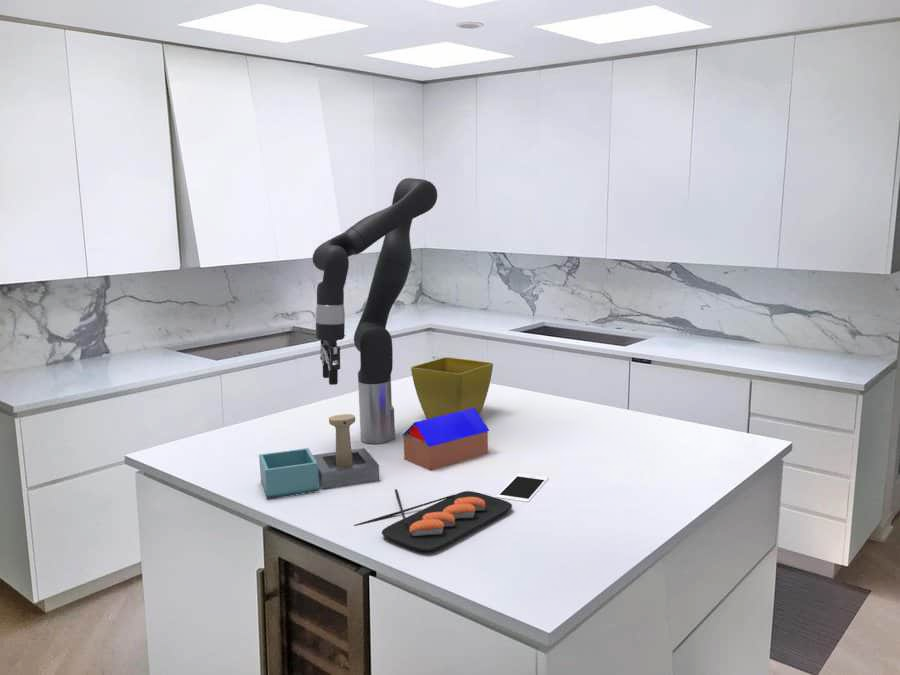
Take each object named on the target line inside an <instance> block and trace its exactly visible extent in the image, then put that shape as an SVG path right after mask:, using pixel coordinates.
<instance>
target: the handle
mask: <svg viewBox="0 0 900 675" xmlns="http://www.w3.org/2000/svg"><path fill="white" fill-rule="evenodd" d="M328 423H329V425H331V426H333V427H334V428H335V452H336V463H337V468H338V467H345V466H351V465H352V450H353V449H352V442H351V431H350V428H351V425H352V424H354V423H356V415H354V414H351V413H350V414H348V413H347V414H343V413H342V414H337V415H332V416H329V417H328Z"/></svg>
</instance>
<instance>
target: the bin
mask: <svg viewBox="0 0 900 675" xmlns="http://www.w3.org/2000/svg"><path fill="white" fill-rule="evenodd" d="M313 455H314V454H313V453H312V452H311V450H310V448H309V447H306V448H300V449H299V448H298V449H290V450H284V451H283V450H282V451H275V452H268V453H261V454H258V457H259V474H260V475H259V476H260V483H261V486H262V489H263V491H264V494H265V497H266V500H272V498H273V499H279V498H278V497H280V498H286V497H291V495H293V496H297V495H296V494H299V495H303V494H302V493H306V494H310V493H309V492H312V493H316V492H315V491H319V492H320V484H319V481H318V463H317V462H316V460H315V458H314V457H313ZM285 496H286V497H285Z"/></svg>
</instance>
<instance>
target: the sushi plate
mask: <svg viewBox="0 0 900 675" xmlns="http://www.w3.org/2000/svg"><path fill="white" fill-rule="evenodd" d="M394 493H395V496H396V500H397V504H398V506H399V509H400V510H398V511H395V512H392V513H389V514H385V515H382V516H379V517H375V518H373V519H368V520H365V521H363V522H359V523H356V524H353V526H354V527H358V526H362V525H365V524H369V523H373V522H378V521H381V520H385V519H388V518H392V517H394V516H397V515H400V514H402V517H403V518H402V519H400V520H398V521H396V522H394V523H391V524H389V525H388V526H386V527H385V528H384V529H382V530H381V534H382V536H383V537H384V538H387V539H388V540H391V541H393V542H396V543H399V544H401V545H404V546H405V547H409V548H412V549H414V550H417V551H422V552H430V551H435V550H438V549H440V548H442V547H445V546H446V545H448V544H449V543H451V542H454V541H455V540H458V539H459V538H461V537H463V536H465V535H467V534H468V533H471V532H472V531H474V530H477V528H479V527H482V526H483V525H485V524H488V523H489V522H491V521H492V520H494V519H496V518H498V517H500V516H501V515H503V514H505V513H507V512H509V511H510V510H511V509H512V508H513V504H512V503H511V502H509V501H507V500H505V499H501V498H496V496H495V497H494V496H493V495H492V496H491V495H487V494H485V493H481V492H477V491H470V490H469V491H468V490H466V491H461V492H458V493H455V494H450V495H448V496H445V497H441V498H438V499H434V500H431V501H428V502H426V503H423V504H422V503H421V504H418V505H415V506H412V507H409V508H406V509H404V508H403V506H402V502H401V499H400V495H399V492H398V489H397V488H396V489H394ZM433 503H434V504H433ZM430 504H432V505H430ZM427 505H430V506H427ZM424 506H427V507H425V508H424V509H421V510H419V511H417V512H415V513H413V514H411V515H408V516H406V517H405V513H406V512H408V511H413V510H415V509H418V508H421V507H424Z"/></svg>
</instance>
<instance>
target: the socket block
mask: <svg viewBox="0 0 900 675" xmlns="http://www.w3.org/2000/svg"><path fill="white" fill-rule="evenodd" d="M312 455H313V457H314V458H315V460H316V462H317V463H318V481H319V487H322V488H321V490H326V489H325V488H328V489H334V487H335V488H341V487H346V486H353V485H359V484H366V483H372V482H373V483H374V482H379V481H380V464H379V463H378V462H377V461H376V459H374V457H373V456H372V455H371V454H370V453H369V451H368V450H367V449H366V447H362V448H355V449H352V465H351V466H345V467H338V468H337V463H336V451H334V452H326V453H319V454H318V453H317V454H312Z"/></svg>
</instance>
